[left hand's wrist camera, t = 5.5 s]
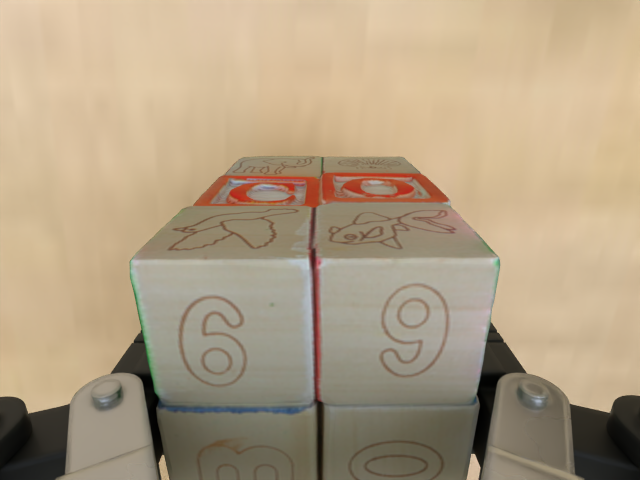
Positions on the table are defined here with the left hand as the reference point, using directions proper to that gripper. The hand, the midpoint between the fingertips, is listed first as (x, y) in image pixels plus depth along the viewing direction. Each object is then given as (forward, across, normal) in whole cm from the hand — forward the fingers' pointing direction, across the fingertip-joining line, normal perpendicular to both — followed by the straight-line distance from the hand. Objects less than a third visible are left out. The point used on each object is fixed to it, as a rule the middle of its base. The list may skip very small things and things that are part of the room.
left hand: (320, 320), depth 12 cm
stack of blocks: (+5, 0, -7) cm, 8 cm away
